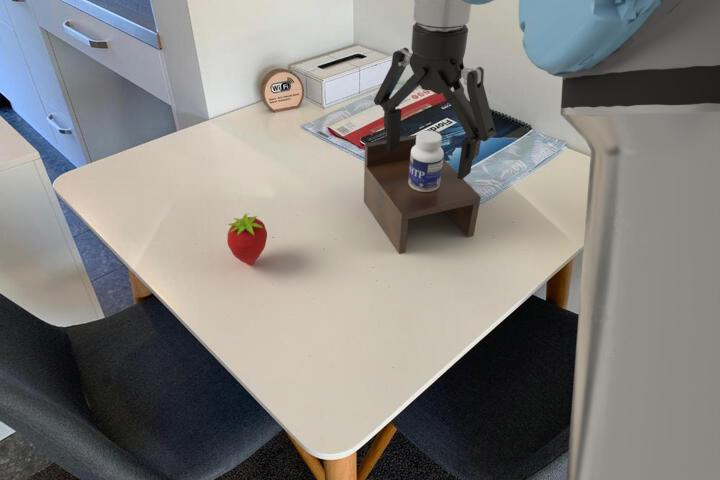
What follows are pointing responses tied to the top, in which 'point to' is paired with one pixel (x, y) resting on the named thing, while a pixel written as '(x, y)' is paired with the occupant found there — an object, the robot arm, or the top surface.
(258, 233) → the strawberry
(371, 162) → the shelf
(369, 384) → the top surface
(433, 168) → the pill bottle
